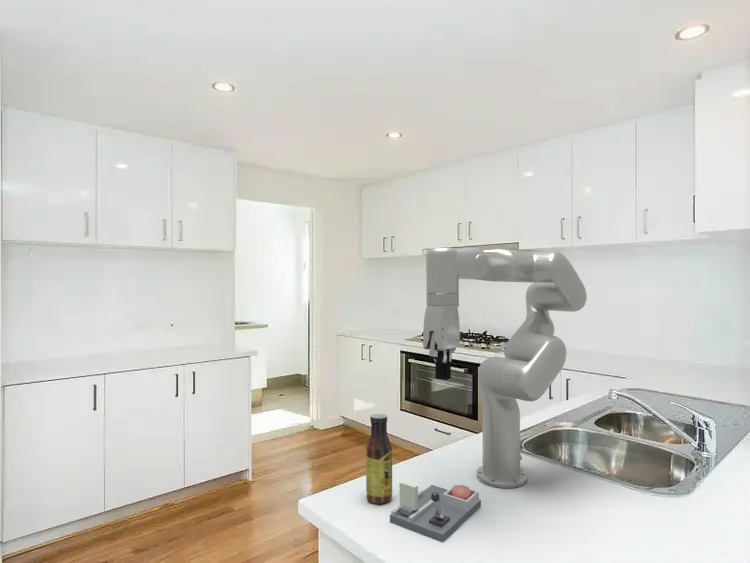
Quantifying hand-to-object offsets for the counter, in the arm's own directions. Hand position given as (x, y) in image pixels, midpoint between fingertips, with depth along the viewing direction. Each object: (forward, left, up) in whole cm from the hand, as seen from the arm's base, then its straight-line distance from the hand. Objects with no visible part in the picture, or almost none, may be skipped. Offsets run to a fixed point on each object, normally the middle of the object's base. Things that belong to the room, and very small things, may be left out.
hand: (443, 378), depth 110 cm
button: (+1, +5, -27) cm, 28 cm away
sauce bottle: (+8, -13, -29) cm, 33 cm away
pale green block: (+12, -2, -27) cm, 30 cm away
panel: (+6, +2, -29) cm, 30 cm away
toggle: (+11, +5, -26) cm, 29 cm away
